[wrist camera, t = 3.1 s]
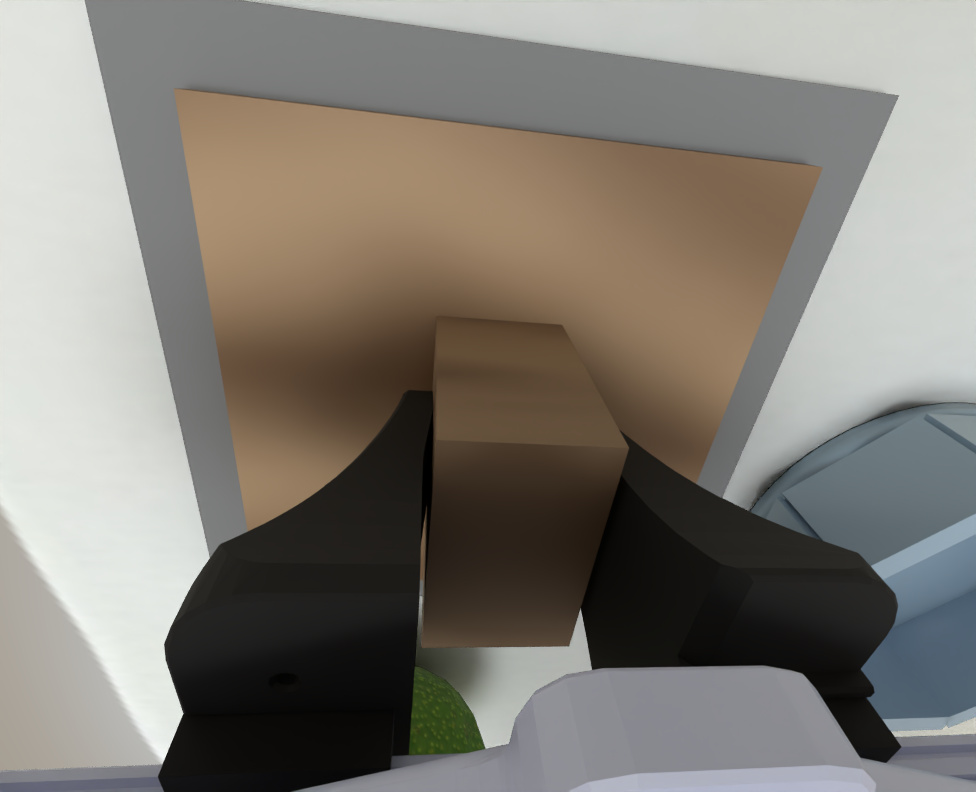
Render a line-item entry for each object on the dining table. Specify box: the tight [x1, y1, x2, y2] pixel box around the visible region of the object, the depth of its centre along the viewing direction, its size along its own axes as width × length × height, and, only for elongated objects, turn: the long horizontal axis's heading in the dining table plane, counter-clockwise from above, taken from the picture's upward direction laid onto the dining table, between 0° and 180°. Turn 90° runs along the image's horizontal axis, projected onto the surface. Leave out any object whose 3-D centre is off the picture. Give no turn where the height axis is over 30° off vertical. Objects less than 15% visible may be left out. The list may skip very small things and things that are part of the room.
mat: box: [85, 0, 899, 596], centre depth 14 cm, size 16×16×1 cm
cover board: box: [174, 88, 823, 648], centre depth 11 cm, size 13×13×6 cm
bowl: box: [750, 403, 976, 731], centre depth 17 cm, size 11×11×4 cm
